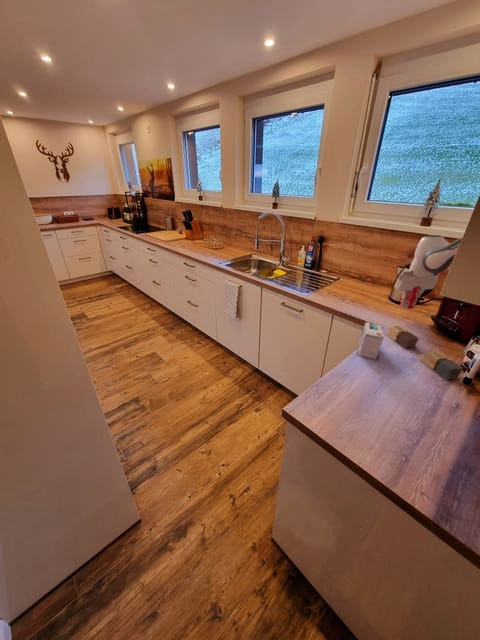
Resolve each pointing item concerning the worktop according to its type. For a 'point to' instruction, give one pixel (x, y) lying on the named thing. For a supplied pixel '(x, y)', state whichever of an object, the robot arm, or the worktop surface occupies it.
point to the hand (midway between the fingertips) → (410, 297)
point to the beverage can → (411, 298)
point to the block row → (431, 358)
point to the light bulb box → (371, 340)
